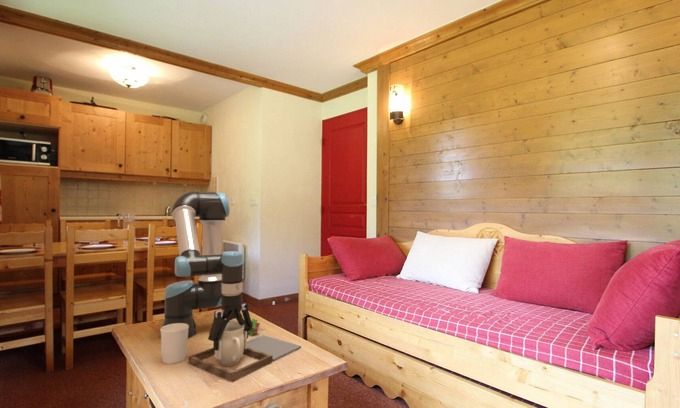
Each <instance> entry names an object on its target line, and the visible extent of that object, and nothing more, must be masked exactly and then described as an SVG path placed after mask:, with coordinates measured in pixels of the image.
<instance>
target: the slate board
mask: <svg viewBox="0 0 680 408" xmlns="http://www.w3.org/2000/svg"><path fill="white" fill-rule="evenodd" d="M247 347H248V348H251V349H254V350H257V351H260V352H263V353H266V354H269V355H272V362H275V361H277V360H279V359H282V358H284V357H286V356H288V355H290V354H292V353H295V352H296V351H298V350H300V349H302V345H299V344H296V343H292V342H289V341H285V340H281V339H279V338H274V337H271V336H267V335H264V334H262V335H260V336H258V337H254V338H252V339H250V340H247Z"/></svg>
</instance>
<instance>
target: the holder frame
mask: <svg viewBox="0 0 680 408" xmlns="http://www.w3.org/2000/svg"><path fill="white" fill-rule="evenodd" d="M243 355H244V356H247V357H250V358H253V359H257V360H256V361H254V362H251V363H249V364H247V365H245V366H243V367H241V368H238V369H236V370H234V371H232V370H229V369H227V368H224V367H221V366H220V365H217V364H215V363H212V362H209V361H207V360H205V359H208V358H210V357H213V356H215V351H214V349H213V347H211V348H208V349H205V350H203V351H200V352H198V353H195V354H192V355H189V356H188V363H187V364H189V365H191V366H194V367H196V368H199V369H201V370H203V371H206V372H208V373H210V374H213V375H215V376H218V377H220V378H223V379H224V380H227V381H229V382H232V383H233V382H235V381H237V380H239V379H241V378H244V377H246V376H248V375H250V374H252V373H254V372H256V371H257V370H260V369H262V368H264V367H266V366H268V365H270V364H272V363H273V361H272V355H269V354H266V353H263V352H260V351H257V350H254V349H251V348H248V347H247V349H244V352H243Z"/></svg>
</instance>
